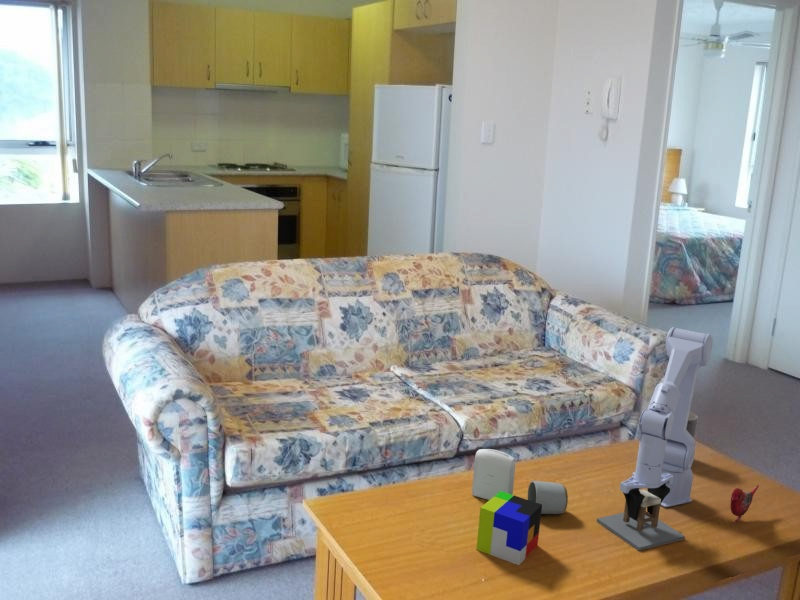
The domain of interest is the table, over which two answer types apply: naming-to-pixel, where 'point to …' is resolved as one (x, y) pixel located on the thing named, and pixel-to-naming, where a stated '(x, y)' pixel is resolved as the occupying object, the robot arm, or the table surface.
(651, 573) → the table surface
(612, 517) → the mat
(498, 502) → the puzzle toy
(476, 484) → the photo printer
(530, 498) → the ceramic mug
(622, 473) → the table surface
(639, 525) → the stool
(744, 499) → the decorative bird figurine
